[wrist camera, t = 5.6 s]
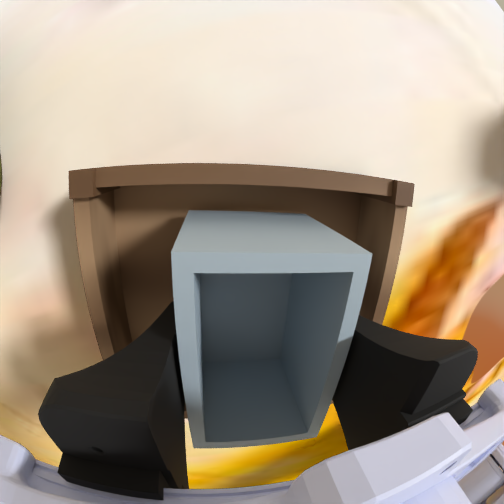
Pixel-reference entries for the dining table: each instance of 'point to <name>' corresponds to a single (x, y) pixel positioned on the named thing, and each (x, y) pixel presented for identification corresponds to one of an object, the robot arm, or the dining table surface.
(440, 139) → the dining table surface
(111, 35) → the dining table surface
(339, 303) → the grey crate
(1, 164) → the fruit
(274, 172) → the walnut crate
